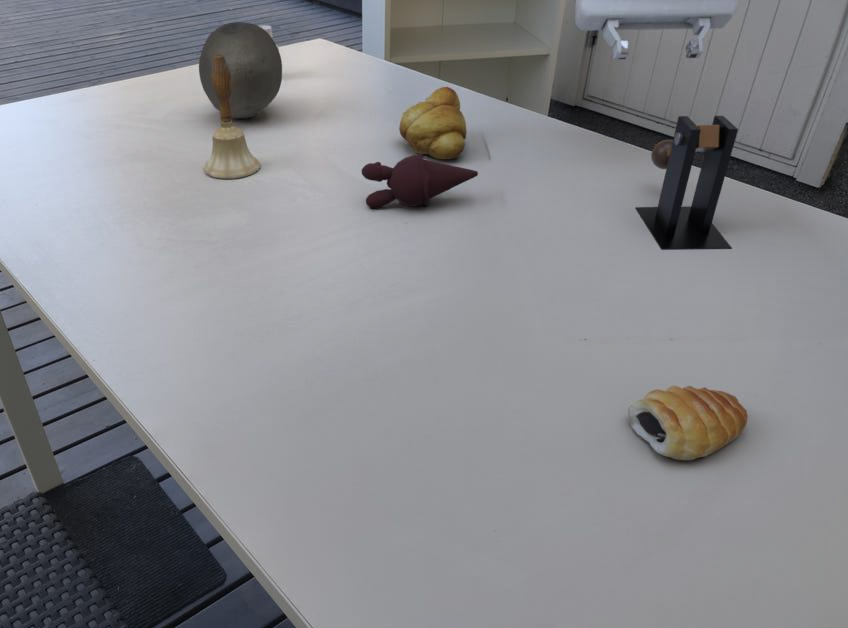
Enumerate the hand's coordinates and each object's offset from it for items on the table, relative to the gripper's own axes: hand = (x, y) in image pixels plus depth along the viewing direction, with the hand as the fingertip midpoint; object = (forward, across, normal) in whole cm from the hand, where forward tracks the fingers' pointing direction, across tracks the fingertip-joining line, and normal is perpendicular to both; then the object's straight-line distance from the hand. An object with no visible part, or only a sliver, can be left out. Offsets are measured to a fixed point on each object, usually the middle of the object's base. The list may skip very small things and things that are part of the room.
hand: (657, 56), depth 96 cm
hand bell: (+9, -58, +14) cm, 60 cm away
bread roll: (+4, -28, +18) cm, 34 cm away
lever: (+16, 0, -5) cm, 17 cm away
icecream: (+18, -31, +5) cm, 36 cm away
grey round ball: (-7, -59, +30) cm, 66 cm away
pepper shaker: (-22, -58, +45) cm, 77 cm away
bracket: (+25, 0, -2) cm, 25 cm away
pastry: (+50, -11, -27) cm, 58 cm away
